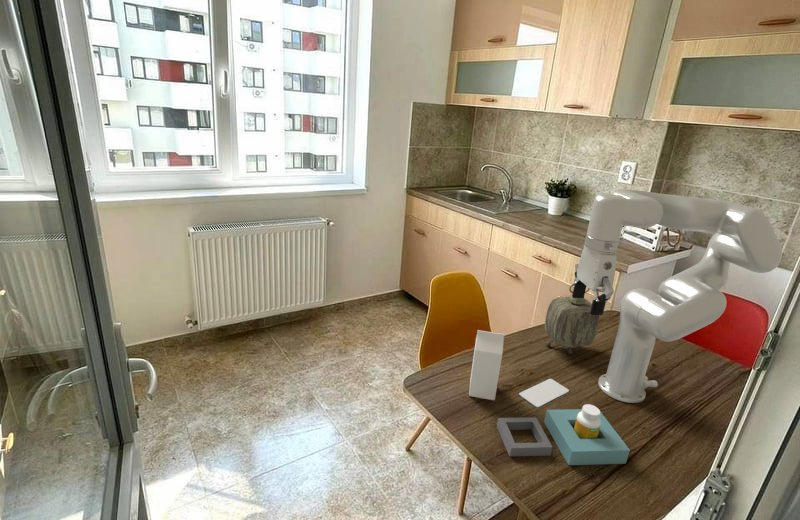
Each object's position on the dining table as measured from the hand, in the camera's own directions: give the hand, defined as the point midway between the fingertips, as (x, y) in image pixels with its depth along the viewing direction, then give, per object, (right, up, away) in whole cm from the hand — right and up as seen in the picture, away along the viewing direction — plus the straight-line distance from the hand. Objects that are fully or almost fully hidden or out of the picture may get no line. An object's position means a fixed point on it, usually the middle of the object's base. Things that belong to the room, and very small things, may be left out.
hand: (586, 305), depth 114 cm
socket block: (-4, -33, -7) cm, 34 cm away
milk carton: (-26, -25, +9) cm, 37 cm away
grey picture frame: (-19, -32, -8) cm, 38 cm away
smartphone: (-8, -27, +11) cm, 30 cm away
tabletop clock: (+7, -19, +33) cm, 38 cm away
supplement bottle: (-4, -33, -7) cm, 34 cm away
